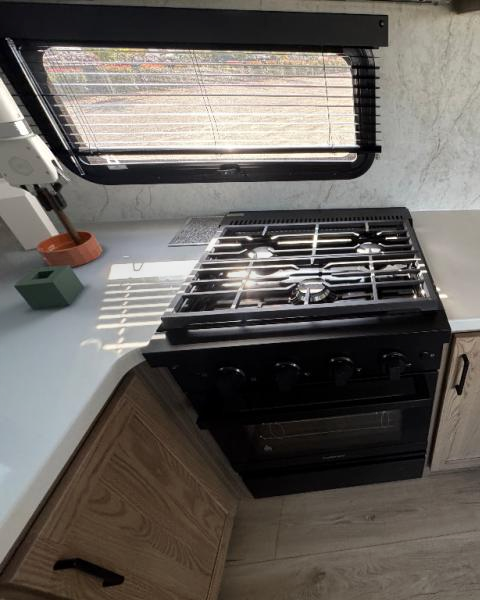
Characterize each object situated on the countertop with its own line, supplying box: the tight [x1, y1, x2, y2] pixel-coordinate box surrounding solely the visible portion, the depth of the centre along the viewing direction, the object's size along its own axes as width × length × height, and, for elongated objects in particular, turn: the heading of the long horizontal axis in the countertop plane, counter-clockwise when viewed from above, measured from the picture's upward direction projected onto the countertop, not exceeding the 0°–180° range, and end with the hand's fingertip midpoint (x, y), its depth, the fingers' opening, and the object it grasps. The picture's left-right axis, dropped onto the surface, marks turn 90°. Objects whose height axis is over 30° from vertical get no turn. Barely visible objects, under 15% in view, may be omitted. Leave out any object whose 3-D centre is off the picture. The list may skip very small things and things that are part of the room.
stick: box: [39, 185, 83, 246], centre depth 89 cm, size 2×2×17 cm
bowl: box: [35, 230, 103, 268], centre depth 94 cm, size 12×12×6 cm
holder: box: [13, 265, 85, 311], centre depth 79 cm, size 7×7×7 cm
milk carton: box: [0, 177, 60, 251], centre depth 96 cm, size 7×7×19 cm
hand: (57, 208), depth 87 cm, fingers closed on stick, 1 cm apart
